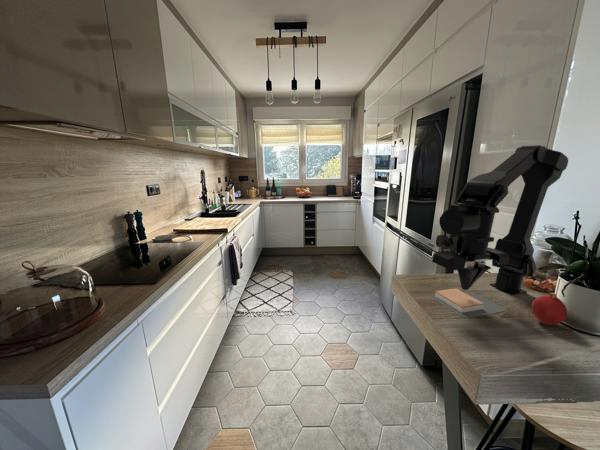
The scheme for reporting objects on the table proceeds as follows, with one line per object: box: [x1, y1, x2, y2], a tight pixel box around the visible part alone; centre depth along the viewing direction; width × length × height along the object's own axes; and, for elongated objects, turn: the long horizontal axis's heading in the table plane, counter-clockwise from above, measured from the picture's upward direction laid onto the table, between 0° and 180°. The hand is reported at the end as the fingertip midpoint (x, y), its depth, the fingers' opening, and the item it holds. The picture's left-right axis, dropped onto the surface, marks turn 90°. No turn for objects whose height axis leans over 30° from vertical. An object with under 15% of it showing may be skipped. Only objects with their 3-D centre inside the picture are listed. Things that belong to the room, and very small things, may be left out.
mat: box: [431, 291, 509, 319], centre depth 65 cm, size 14×10×1 cm
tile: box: [434, 288, 484, 313], centre depth 65 cm, size 2×8×7 cm
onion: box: [530, 292, 568, 326], centre depth 57 cm, size 6×6×8 cm
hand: (464, 289), depth 65 cm, fingers closed
